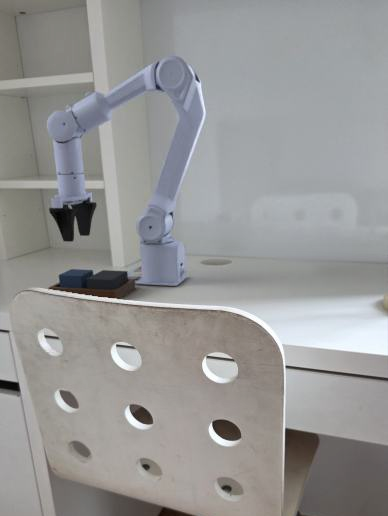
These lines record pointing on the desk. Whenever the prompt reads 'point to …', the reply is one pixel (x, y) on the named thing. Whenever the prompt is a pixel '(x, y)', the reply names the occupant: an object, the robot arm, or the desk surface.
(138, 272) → the smartphone
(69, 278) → the navy blue cube
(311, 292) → the desk surface
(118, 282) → the charcoal pad
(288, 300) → the desk surface
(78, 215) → the robot arm
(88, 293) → the pad tray
